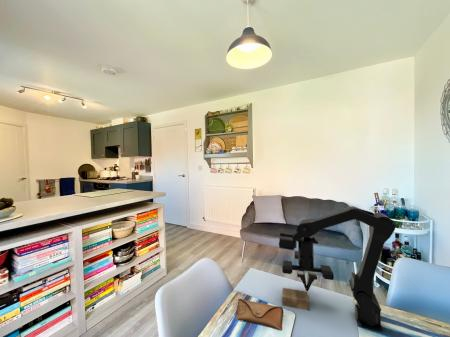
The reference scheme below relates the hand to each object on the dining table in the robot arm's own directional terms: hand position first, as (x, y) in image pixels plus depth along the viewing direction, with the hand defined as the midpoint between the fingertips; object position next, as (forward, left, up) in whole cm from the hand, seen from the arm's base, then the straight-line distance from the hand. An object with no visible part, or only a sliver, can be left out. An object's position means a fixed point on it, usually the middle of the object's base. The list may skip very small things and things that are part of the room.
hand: (306, 290), depth 77 cm
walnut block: (0, 0, -4) cm, 4 cm away
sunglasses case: (+18, +11, -7) cm, 22 cm away
